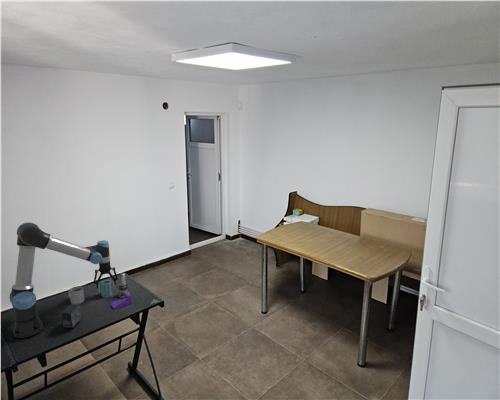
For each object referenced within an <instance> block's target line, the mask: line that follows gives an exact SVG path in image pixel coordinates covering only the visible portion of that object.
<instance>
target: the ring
mask: <svg viewBox="0 0 500 400" xmlns="http://www.w3.org/2000/svg"><path fill="white" fill-rule="evenodd" d="M118 288H119V289H118V290H119V291H120V290H127V291H128V289H129V285H128V284H126V287H121V284H120V285H119V286H118Z"/></svg>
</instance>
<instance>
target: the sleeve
mask: <svg viewBox="0 0 500 400" xmlns="http://www.w3.org/2000/svg"><path fill="white" fill-rule="evenodd" d="M100 293H101V298H110V297H112V296H113V280H111V279H105V280H101V281H100Z"/></svg>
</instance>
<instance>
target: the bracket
mask: <svg viewBox="0 0 500 400" xmlns="http://www.w3.org/2000/svg"><path fill="white" fill-rule="evenodd" d="M129 293H130V292H129ZM129 293H126V294H125V298H121V299H120V300H115V301H113V302H112V303H110V307H111V308H112V309H113V310H114V311H115V310H118V309H120V308H124V307H127V306H130V305H132V296H131V293H130V294H129Z"/></svg>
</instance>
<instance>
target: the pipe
mask: <svg viewBox="0 0 500 400" xmlns="http://www.w3.org/2000/svg"><path fill="white" fill-rule="evenodd" d="M120 285H121V287H126V273H125V272H121V273H120ZM119 291H120V293H121V296H125V294H126V293H127V292H128V289H127V290H119Z"/></svg>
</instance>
